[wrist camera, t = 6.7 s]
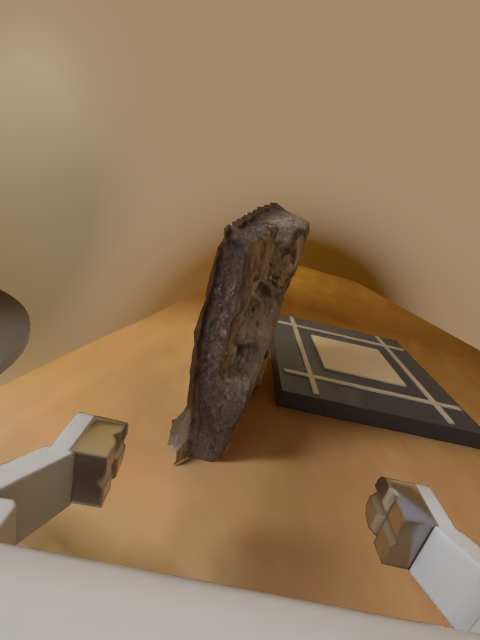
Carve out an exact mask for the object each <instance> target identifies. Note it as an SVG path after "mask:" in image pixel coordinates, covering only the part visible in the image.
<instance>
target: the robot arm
mask: <svg viewBox="0 0 480 640" xmlns="http://www.w3.org/2000/svg"><path fill="white" fill-rule="evenodd" d="M127 431H128V423H126V422H122V421H117V420H113V419H109V418H105V417H100V416H95V415H91V414H86V413H82V412H79V413H77V414H76V415H75V416H74V417H73V419H72V420H71V421H70V422H69V424H68V425H67V426H66V428H65V429H64V430H63V431H62V433H61V434H60V435H59V436H58V438H57V439H56V440H55V442H54V443H53V444H52V445H51V447H48V446H44V447H42V448H39V449H37V450H35V451H33V452H30V453H28V454H26V455H23V456H21V457H19V458H17V459H14V460H12V461H10V462H7V463H5V464H3V465H1V466H0V640H480V547H479V546H478V545H477V544H476V543H474V542H473V541H472V540H471V539H470V538H469V537H467V536H466V535H465V534H464V533H463V532H461V531H457V530H456V528H455V527H454V525H453V524H452V522H451V520H450V519H449V517H448V515H447V514H446V512H445V510H444V509H443V507H442V505H441V504H440V502H439V501H438V499H437V497H436V496H435V494H434V492H433V491H432V489H431V488H430V487H428V486H427V485H422V484H417V483H409V482H404V481H400V480H395V479H390V478H385V477H381V478H380V479H378V481H377V483H376V485H375V488H376V491H377V492H376V493H375V494H373V495H371V496H370V497H369V500H368V502H367V504H366V521H367V524H368V527H369V529H370V530H371V531H372V532H373V533H374V535H375V536H376V538H375V540H374V544H375V547H376V550H377V553H378V556H379V558H380V561H381V564H385V565H389V566H394V567H398V568H403V569H407V570H409V573H410V574H411V575H412V576H413V578H414V579H415V580H416V581H417V583H418V584H419V585H420V586H421V588H422V589H423V590H424V591H425V593H426V594H427V595H428V596H429V598H430V599H431V600H432V602H433V603H434V604H435V605H436V607H437V608H438V609H439V610H440V612H441V613H442V614H443V615H444V617H445V618H446V619H447V620H448V622H449V623H450V624H451V625H452V627H453V628H454V629H453V628H448V627H442V626H437V625H432V624H426V623H421V622H416V621H411V620H405V619H400V618H395V617H390V616H384V615H379V614H374V613H369V612H364V611H358V610H353V609H348V608H343V607H337V606H332V605H327V604H322V603H317V602H311V601H306V600H301V599H295V598H290V597H285V596H280V595H274V594H269V593H264V592H259V591H253V590H248V589H243V588H238V587H232V586H227V585H222V584H217V583H211V582H206V581H201V580H196V579H190V578H185V577H180V576H175V575H169V574H164V573H159V572H154V571H148V570H143V569H138V568H133V567H127V566H122V565H117V564H111V563H106V562H101V561H96V560H90V559H85V558H80V557H75V556H69V555H64V554H59V553H54V552H48V551H43V550H38V549H33V548H27V547H22V546H17V545H16V544H18V543H19V542H20V541H22V540H23V539H24V538H26V537H27V536H29V535H30V534H31V533H33V532H34V531H35V530H37V529H38V528H39V527H41V526H42V525H44V524H45V523H46V522H48V521H49V520H50V519H52V518H53V517H54V516H56V515H57V514H58V513H60V512H61V511H63V510H64V509H65V508H67V507H68V506H69V505H70V503H74V504H80V505H86V506H92V507H98V508H101V507H102V505H103V503H104V501H105V498H106V496H107V494H108V492H109V490H110V486H111V480H112V479H113V478H115V477H116V475H117V473H118V471H119V468H120V466H121V463H122V460H123V456H124V451H125V444H124V442H123V441H124V439H125V437H126V435H127Z"/></svg>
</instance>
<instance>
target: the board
mask: <svg viewBox="0 0 480 640" xmlns="http://www.w3.org/2000/svg"><path fill="white" fill-rule="evenodd" d="M270 351H271V359H272V367H273V375H274V383H275V391H276V399H277V405H279V406H283V407H288V408H293V409H297V410H302V411H307V412H311V413H316V414H321V415H325V416H330V417H335V418H339V419H344V420H349V421H353V422H358V423H363V424H367V425H372V426H377V427H381V428H386V429H390V430H395V431H400V432H404V433H409V434H414V435H418V436H423V437H428V438H432V439H437V440H442V441H446V442H451V443H456V444H460V445H465V446H470V447H474V448H479V449H480V426H479V425H478V424H477V423H476V422H475V421H474V420H473V419H472V418H471V417H470V416H469V415H468V414H467V413H466V412H465V411H464V410H463V409H462V408H461V407H460V406H459V405H458V404H457V403H456V402H455V401H454V400H453V399H452V398H451V397H450V396H449V395H448V394H447V393H446V392H445V391H444V389H443V388H442V387H441V386H440V385H439V384H438V383H437V382H436V381H435V380H434V379H433V378H432V377H431V376H430V375H429V374H428V373H427V372H426V371H425V370H424V369H423V368H422V367H421V366H420V365H419V364H418V363H417V362H416V361H415V360H414V359H413V358H412V357H411V356H410V355H409V353H408V352H407V351H406V350H405V349H404V348H403V347H402V346H401V345H400V344H399V343H398V342H397V341H395V340H391V339H386V338H382V337H378V336H373V335H369V334H365V333H360V332H356V331H351V330H347V329H343V328H338V327H334V326H330V325H325V324H321V323H316V322H312V321H308V320H303V319H299V318H295V317H291V316H286V315H282V314H280V315H279V317H278V323H277V325H276V329H275V331H274V334H273V335H272V337H271V341H270Z"/></svg>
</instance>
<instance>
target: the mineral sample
mask: <svg viewBox="0 0 480 640" xmlns="http://www.w3.org/2000/svg"><path fill="white" fill-rule="evenodd" d="M308 233H309V223H308V222H307V221H306V220H305V219H303V218H301V217H299V216H296V215H294V214H292V213H290V212H288V211H286V210H285V209H284V208H282V207H281V206H280V205H278V204H277V203H270V205H264V207H257V210H254V211H253V212H252V213H250V212H249V213H248V214H247V216H246V215H244V216H243V217H241V219H237V221H235V222H232V226H231V225H227V226H226V227H225V228H224V239H223V241H222V242H221V244H220V245H219V246H218V249H217V253H216V256H215V260H214V263H213V267H212V270H211V273H210V277H209V282H208V287H207V292H206V300H205V302H204V305H203V308H202V310H201V312H200V316H199V319H198V322H197V325H196V327H195V330H194V347H193V353H192V362H191V367H190V384H189V392H188V399H187V407H186V408H185V410H184V411H183V412H182V413H181V414H180V415H179V416H178V418H177V419H174V420H172V423H173V425H172V427H171V430H170V439H169V442H168V445H173V446H174V449H173V451H172V452H176V462H175V463H174V465H175V464H176V463H178V462H180V461H182V460H183V459H185V458H187V457H189V458H196V459H201V460H206V461H210V462H212V461H215V460H217V459H219V458H220V457H221V456H222V454H223V453H224V451H225V450H226V449H227V447H228V445H229V444H230V442H231V440H232V437H233V434H234V432H235V430H236V428H237V426H238V424H239V422H240V420H241V418H242V415H243V414H244V412H245V410H246V407H247V405H248V402H249V400H250V397H251V394H252V391H253V388H255V387H258V386H260V385H261V382H262V378H263V375H264V371H265V368H266V365H267V361H268V357H269V353H270V352H269V351H270V345H269V344H270V341H271V337H272V335H273V334H274V331H275V329H276V325H277V323H278V317H279V315H280V311H281V305H282V302H283V300H284V295H285V292H286V291H287V289H288V287H289V285H290V281H291V278H292V277H293V276H294V275H295V272H296V270H297V266H298V263H299V260H300V258H301V255H302V252H303V250H304V245H305V242H306V239H307V236H308Z"/></svg>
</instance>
